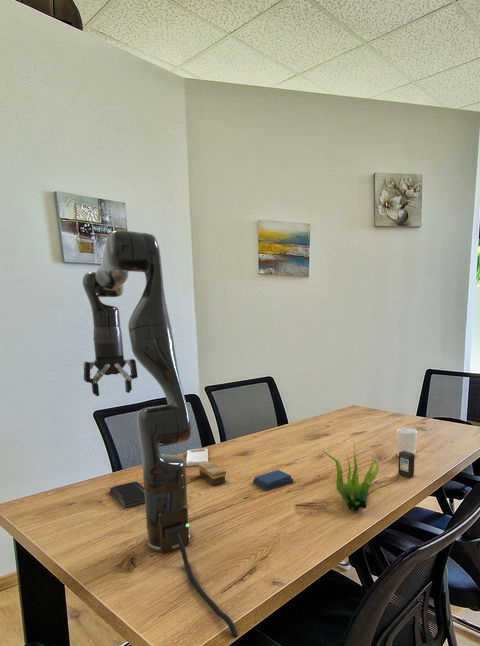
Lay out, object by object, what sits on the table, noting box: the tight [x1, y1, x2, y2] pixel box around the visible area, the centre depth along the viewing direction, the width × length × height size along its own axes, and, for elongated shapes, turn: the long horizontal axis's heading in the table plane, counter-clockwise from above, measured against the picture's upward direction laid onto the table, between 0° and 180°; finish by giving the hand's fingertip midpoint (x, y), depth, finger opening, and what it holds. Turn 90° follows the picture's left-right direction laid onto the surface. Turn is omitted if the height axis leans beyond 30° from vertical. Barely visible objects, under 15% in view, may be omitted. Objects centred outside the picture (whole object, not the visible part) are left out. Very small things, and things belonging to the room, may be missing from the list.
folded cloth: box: [252, 469, 294, 491], centre depth 139 cm, size 8×10×2 cm
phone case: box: [185, 447, 209, 467], centre depth 160 cm, size 7×1×15 cm
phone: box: [109, 481, 145, 508], centre depth 128 cm, size 8×1×15 cm
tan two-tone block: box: [197, 460, 227, 487], centre depth 141 cm, size 12×4×4 cm, turn 40°
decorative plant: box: [321, 436, 380, 513], centre depth 132 cm, size 18×30×15 cm, turn 163°
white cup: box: [396, 427, 419, 457], centre depth 164 cm, size 8×8×10 cm
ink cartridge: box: [397, 451, 416, 478], centre depth 145 cm, size 5×2×8 cm, turn 44°
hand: (112, 394), depth 132 cm, fingers open, 8 cm apart
